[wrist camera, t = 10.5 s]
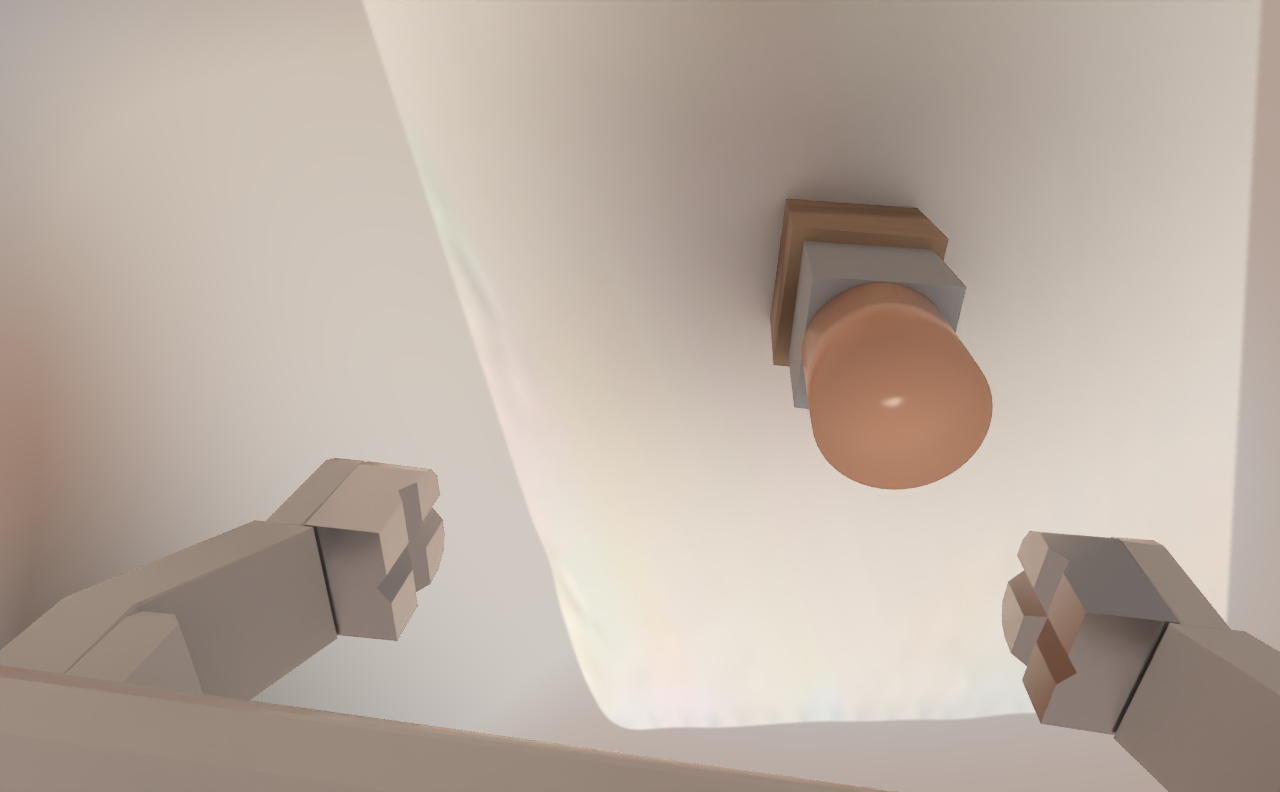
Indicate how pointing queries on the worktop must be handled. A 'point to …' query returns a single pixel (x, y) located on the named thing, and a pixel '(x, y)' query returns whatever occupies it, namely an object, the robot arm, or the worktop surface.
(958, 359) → the peach brown rounded dome
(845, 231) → the walnut block
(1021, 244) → the worktop surface
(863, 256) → the grey block
